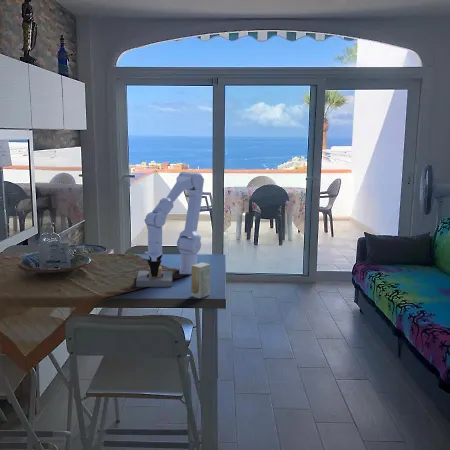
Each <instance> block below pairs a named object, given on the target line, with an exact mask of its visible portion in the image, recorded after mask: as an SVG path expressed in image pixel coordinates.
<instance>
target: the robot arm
mask: <svg viewBox="0 0 450 450" xmlns="http://www.w3.org/2000/svg"><path fill="white" fill-rule="evenodd" d="M204 184H205V178H204V177H203V175H202V173H200V172H190V171H189V172H186V171H181V172H180V173H179V174H178V175H177V177H176V181H175V183H174V185H173V187H172V188H171V189H170V192H169V193H168V195H167V196H166V197H162V198H160V199H159V202H158V203H157V204H156V206H155V207H154V209H152V211H150V212H148V213H147V214H146V216H145V219H144V223H145V224H146V229H147V251H144V254H145V255H147V256H148V257H149V258H148V259H146V261H147V264H148V266H150V270H151V275H152V277H157V275H158V269H159V266H161V263H162V262H163V261H162V257H163V226H164V225H165V224H166V221H167V220H166V219H167V216H168V215H169V213H170V212H171V210H172V209H174V203H175V201H176V200H177V199H178V197H179V196H180V195H181V194H182V193H183V192H184V191H187V192H188V194H189V197H188V203H187V204H188V205H187V211H186V216H185V217H186V218H185V224H184V230H182V231H181V232H180V233H179V236H178V239H177V240H176V247H177V249H178V250H179V251H178V252H179V253H180V259H179V260H180V265H179V275H191V269H192V265H195V264H198V262H197V261H198V254H199V252H200V250H201V247H202V244H201V243H202V241H201V238H202V236H201V235H200V234H199V233H198V231H197V230H198V227H199V218H200V213H201V206H202V200H203V193H204V190H203V189H204Z"/></svg>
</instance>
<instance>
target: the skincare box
mask: <svg viewBox="0 0 450 450" xmlns="http://www.w3.org/2000/svg"><path fill="white" fill-rule="evenodd" d="M190 275H191V283H190V286H191V289H190V291H191V293H190V294H191V295H190V296H191V297H193V298H196V299H203V298H205V297H207V296H210V295H211V263H206V262H204V261H203V262H202V261H201V262H197V264H195V265H192V269H191V274H190Z"/></svg>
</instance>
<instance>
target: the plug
mask: <svg viewBox="0 0 450 450" xmlns="http://www.w3.org/2000/svg"><path fill="white" fill-rule="evenodd" d="M148 266H149V265H148ZM148 271H149V278H161V271H162V265H160V266H159V269H158V275H157V277H152V275H151V270H150V266H149V267H148Z"/></svg>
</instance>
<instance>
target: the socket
mask: <svg viewBox="0 0 450 450" xmlns="http://www.w3.org/2000/svg"><path fill="white" fill-rule="evenodd" d="M136 277H137V278H136V280H135V281H136V283H135V284H136V288H137V287H139V288H142V287H143V288H144V287H145V288H148V287H149V288H153V287H155V288H159V287H163V288H166V287H167V288H169V287H172V286H173V270H161V278H149V270H139V271H138V273H137V276H136Z"/></svg>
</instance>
